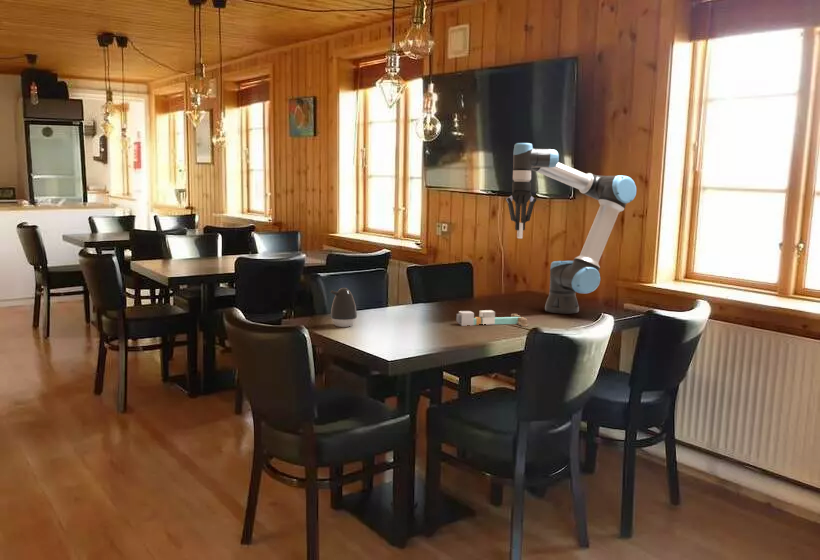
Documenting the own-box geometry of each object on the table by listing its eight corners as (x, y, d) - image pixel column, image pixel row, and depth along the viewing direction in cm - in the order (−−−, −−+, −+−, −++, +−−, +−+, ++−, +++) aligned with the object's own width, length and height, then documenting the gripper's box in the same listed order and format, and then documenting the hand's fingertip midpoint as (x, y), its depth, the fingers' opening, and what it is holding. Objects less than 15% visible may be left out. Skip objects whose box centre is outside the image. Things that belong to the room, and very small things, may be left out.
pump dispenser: (326, 324, 283) (327, 286, 281) (351, 323, 287) (352, 285, 285) (334, 329, 273) (334, 290, 271) (360, 327, 277) (360, 289, 275)
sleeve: (490, 321, 292) (491, 310, 292) (494, 324, 287) (495, 312, 287) (479, 322, 291) (479, 310, 291) (482, 324, 286) (483, 312, 286)
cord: (519, 322, 295) (519, 310, 294) (523, 324, 290) (523, 312, 289) (455, 323, 289) (456, 311, 289) (459, 325, 285) (459, 313, 284)
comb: (515, 320, 299) (516, 313, 299) (527, 326, 286) (527, 319, 285) (510, 320, 299) (510, 313, 298) (521, 326, 285) (522, 319, 285)
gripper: (533, 181, 298) (531, 237, 301) (503, 180, 295) (501, 237, 298) (540, 181, 291) (537, 239, 294) (509, 180, 288) (507, 238, 291)
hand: (519, 238), depth 296 cm, fingers closed
